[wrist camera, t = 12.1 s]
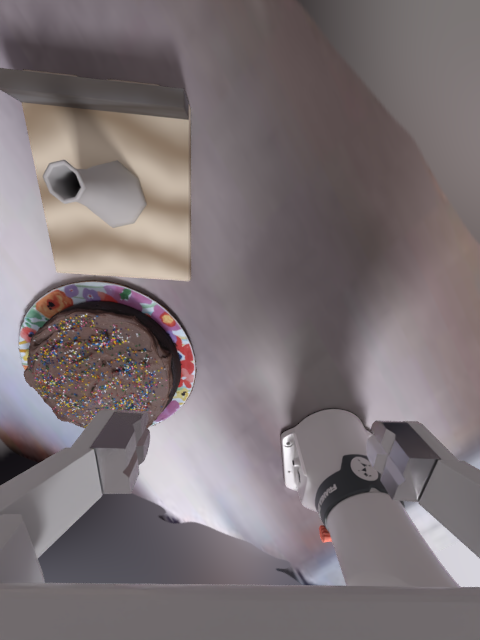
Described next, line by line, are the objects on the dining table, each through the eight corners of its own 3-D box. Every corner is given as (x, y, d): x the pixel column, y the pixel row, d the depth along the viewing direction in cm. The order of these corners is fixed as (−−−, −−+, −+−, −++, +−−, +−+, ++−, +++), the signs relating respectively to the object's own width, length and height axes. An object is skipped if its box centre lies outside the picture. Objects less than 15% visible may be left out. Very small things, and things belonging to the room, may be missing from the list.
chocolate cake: (17, 258, 34) (-30, 265, 28) (212, 302, 37) (208, 318, 31) (29, 411, 43) (-4, 441, 37) (182, 435, 47) (175, 466, 41)
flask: (113, 238, 31) (63, 243, 22) (72, 183, 29) (-3, 163, 20) (157, 207, 30) (125, 199, 21) (119, 148, 28) (63, 109, 18)
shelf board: (191, 278, 35) (185, 286, 31) (63, 270, 34) (40, 276, 30) (190, 106, 28) (183, 84, 24) (28, 88, 27) (-10, 63, 22)
